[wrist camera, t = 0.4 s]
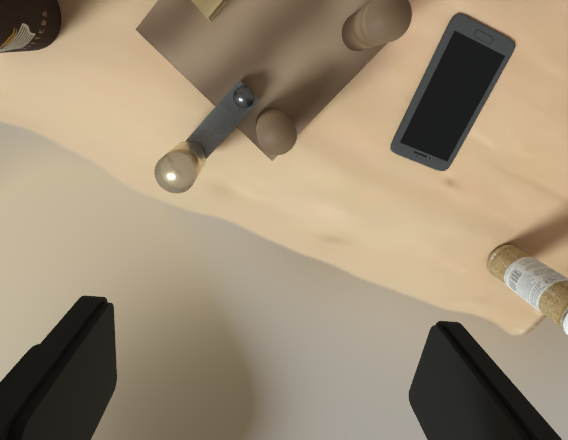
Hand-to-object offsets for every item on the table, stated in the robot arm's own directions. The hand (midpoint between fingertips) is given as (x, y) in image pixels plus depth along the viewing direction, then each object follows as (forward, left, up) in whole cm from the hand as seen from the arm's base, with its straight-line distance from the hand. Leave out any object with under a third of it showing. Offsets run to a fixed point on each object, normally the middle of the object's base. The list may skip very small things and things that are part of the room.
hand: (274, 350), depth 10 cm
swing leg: (-5, 0, -25) cm, 26 cm away
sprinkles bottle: (+31, +12, -28) cm, 43 cm away
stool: (-7, +9, -28) cm, 30 cm away
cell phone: (+10, +18, -28) cm, 35 cm away
